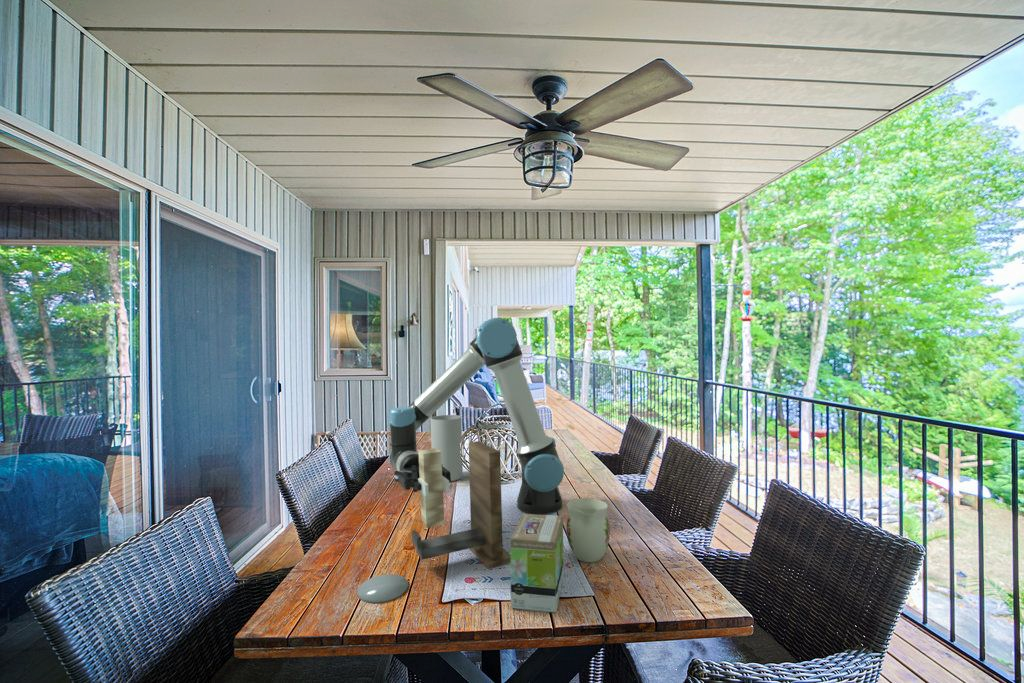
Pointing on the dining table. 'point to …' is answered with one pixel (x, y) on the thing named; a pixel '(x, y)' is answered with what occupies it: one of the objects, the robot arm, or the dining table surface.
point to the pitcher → (588, 528)
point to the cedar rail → (431, 487)
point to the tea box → (537, 563)
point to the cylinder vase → (448, 442)
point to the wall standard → (476, 514)
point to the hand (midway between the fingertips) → (437, 488)
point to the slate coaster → (382, 588)
